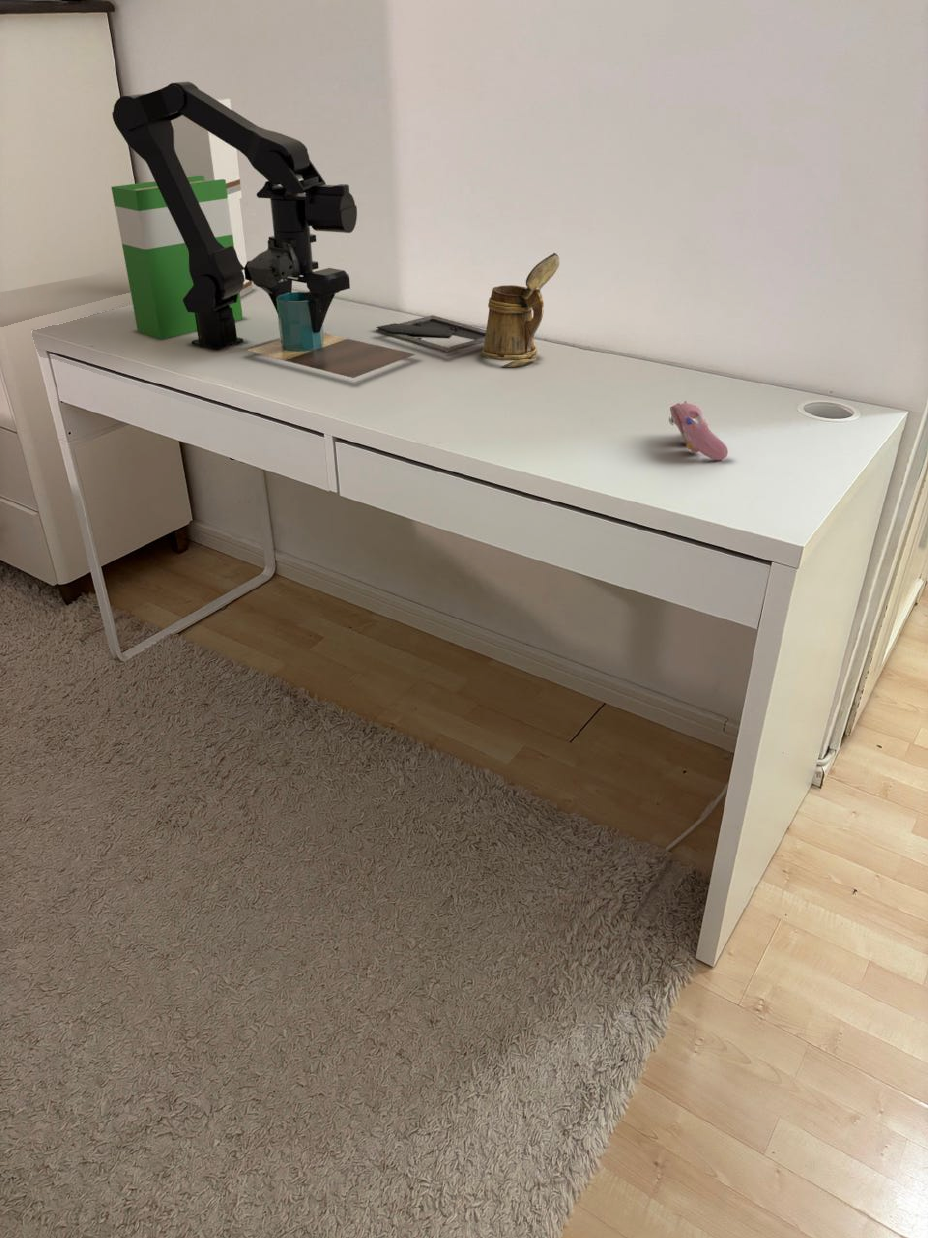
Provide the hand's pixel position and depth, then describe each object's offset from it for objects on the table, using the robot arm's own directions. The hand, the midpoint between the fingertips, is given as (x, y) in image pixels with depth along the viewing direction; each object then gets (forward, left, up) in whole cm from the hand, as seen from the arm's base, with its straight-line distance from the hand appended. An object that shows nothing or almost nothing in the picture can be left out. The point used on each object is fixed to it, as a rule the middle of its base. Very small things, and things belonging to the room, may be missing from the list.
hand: (301, 328), depth 158 cm
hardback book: (-29, 0, -4) cm, 29 cm away
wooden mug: (+32, +17, -4) cm, 37 cm away
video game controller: (+71, 0, -4) cm, 71 cm away
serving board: (+6, 0, -4) cm, 7 cm away
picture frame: (+14, +19, -4) cm, 24 cm away
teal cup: (0, 0, -3) cm, 3 cm away
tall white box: (-43, +18, -4) cm, 47 cm away
